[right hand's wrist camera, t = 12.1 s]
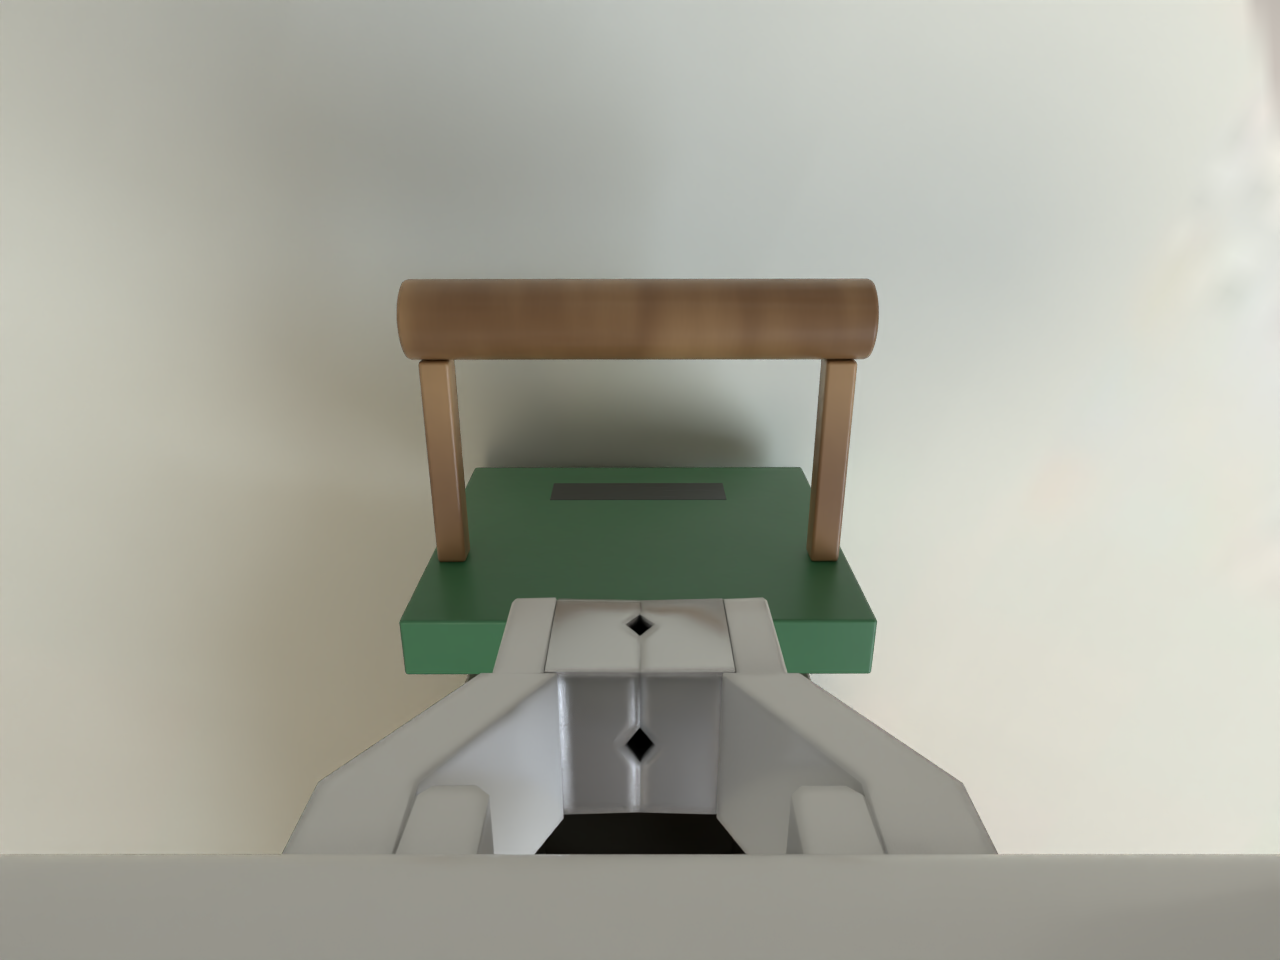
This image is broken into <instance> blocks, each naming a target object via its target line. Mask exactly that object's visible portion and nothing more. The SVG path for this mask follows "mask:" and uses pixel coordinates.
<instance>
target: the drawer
mask: <svg viewBox="0 0 1280 960" xmlns="http://www.w3.org/2000/svg"><path fill="white" fill-rule="evenodd" d="M878 320H879V305H878V296H877V291H876V288H875V285H874V283H873V282H872V281H871V280H869V279H408V280H405V281H403V283H402V284H401V286H400V289H399V294H398V299H397V327H398V334H399V339H400V343H401V346H402V349H403V352H404V354H405V355H406V357H407V358H409V359H412V360H421V361H420V362H419V375H420V385H421V395H422V405H423V415H424V425H425V435H426V445H427V454H428V464H429V474H430V484H431V494H432V504H433V514H434V524H435V534H436V544H437V547H436V549H435V551H434V553H433V555H432V557H431V559H430V561H429V563H428V565H427V567H426V569H425V571H424V573H423V575H422V577H421V579H420V581H419V583H418V585H417V587H416V589H415V591H414V593H413V595H412V597H411V599H410V601H409V603H408V605H407V607H406V609H405V611H404V613H403V615H402V617H401V620H400V622H399V624H400V632H401V640H402V648H403V656H404V664H405V672H406V674H468V676H467V679H466V683H467V682H468V681H470V680H471V679H473V678H474V677H476V676H477V675H479V674H480V673H493V669H494V666H495V662H496V659H497V655H498V651H499V648H500V644H501V641H502V637H503V633H504V630H505V626H506V623H507V619H508V616H509V612H510V608H511V605H512V602H513V601H514V600H515V599H517V598H556V599H557V600H558V599H559V598H566V599H619V600H678V599H719V598H722V599H735V598H758V597H763V598H764V599H766V600H767V602H768V606H769V609H770V613H771V616H772V620H773V624H774V627H775V631H776V634H777V638H778V641H779V645H780V648H781V652H782V655H783V659H784V662H785V666H786V669H787V673H800V674H802V675H803V676H804V677H806V678H807V679H809V680H810V681H811V679H810V676H809V673H870V672H871V667H872V659H873V651H874V642H875V634H876V625H877V620H876V618H875V616H874V614H873V612H872V610H871V608H870V606H869V604H868V602H867V600H866V598H865V596H864V594H863V592H862V590H861V588H860V586H859V584H858V582H857V580H856V578H855V576H854V574H853V572H852V570H851V568H850V566H849V564H848V562H847V560H846V558H845V556H844V554H843V552H842V550H841V548H840V536H841V526H842V516H843V505H844V495H845V485H846V474H847V464H848V454H849V443H850V433H851V423H852V412H853V402H854V392H855V381H856V371H857V363H856V361H855V360H854V359H865V358H867V357H869V356H870V354H871V353H872V350H873V348H874V345H875V341H876V337H877V331H878ZM565 359H822V360H821V372H820V384H819V397H818V409H817V422H816V434H815V446H814V459H813V471H812V484H811V487H810V485H809V483H808V481H807V479H806V477H805V475H804V473H803V471H802V469H801V468H800V467H671V468H475V470H474V472H473V474H472V476H471V478H470V480H469V482H468V484H467V486H466V488H465V482H464V470H463V458H462V446H461V434H460V423H459V411H458V399H457V387H456V375H455V363H454V360H565ZM535 854H746V853H745V852H744V851H743V850H742V849H741V847H740V846H739V845H738V844H737V842H736V841H735V840H734V839H733V837H732V836H731V835H730V834H729V832H728V831H727V830H726V829H725V828H724V826H723V825H722V824H721V823H720V821H719V820H718V819H717V814H684V813H647V812H630V813H595V814H563V820H562V821H561V822H560V823H559V825H558V826H557V827H556V828H555V830H554V831H553V832H552V833H551V834H550V836H549V837H548V838H547V839H546V841H545V842H544V843H543V844H542V845H541V847H540V848H539V849H538V850H537V852H536V853H535Z"/></svg>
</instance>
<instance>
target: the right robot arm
mask: <svg viewBox="0 0 1280 960" xmlns="http://www.w3.org/2000/svg"><path fill="white" fill-rule="evenodd" d="M630 812H647V813H684V814H717V819H718V820H719V821H720V823H721V824H722V825H723V826H724V828H725V829H726V830H727V831H728V832H729V834H730V835H731V836H732V837H733V839H734V840H735V841H736V842H737V844H738V845H739V846H740V847H741V849H742V850H743V851H744V852H745V853H746V854H535V853H536V852H537V850H538V849H539V848H540V847H541V845H542V844H543V843H544V842H545V841H546V839H547V838H548V837H549V836H550V834H551V833H552V832H553V831H554V830H555V828H556V827H557V826H558V825H559V823H560V822H561V821H562V820H563V814H595V813H630ZM0 960H1280V854H998V853H997V851H996V849H995V847H994V845H993V843H992V841H991V839H990V837H989V835H988V833H987V831H986V829H985V827H984V825H983V823H982V821H981V819H980V817H979V815H978V813H977V811H976V809H975V807H974V805H973V803H972V801H971V799H970V797H969V795H968V793H967V791H966V789H965V787H964V785H963V783H962V782H960V781H959V780H957V779H956V778H954V777H953V776H951V775H950V774H948V773H947V772H945V771H944V770H942V769H941V768H939V767H938V766H936V765H935V764H933V763H932V762H930V761H929V760H928V759H926V758H925V757H923V756H922V755H920V754H919V753H917V752H916V751H914V750H913V749H911V748H910V747H908V746H907V745H905V744H904V743H902V742H901V741H899V740H898V739H896V738H895V737H893V736H892V735H890V734H889V733H888V732H886V731H885V730H883V729H882V728H880V727H879V726H877V725H876V724H874V723H873V722H871V721H870V720H868V719H867V718H865V717H864V716H862V715H861V714H859V713H858V712H856V711H855V710H853V709H852V708H850V707H849V706H847V705H846V704H845V703H843V702H842V701H840V700H839V699H837V698H836V697H834V696H833V695H831V694H830V693H828V692H827V691H825V690H824V689H822V688H821V687H819V686H818V685H816V684H815V683H813V682H812V681H810V680H809V679H807V678H806V677H804V676H803V675H802V674H800V673H787V669H786V666H785V662H784V659H783V655H782V652H781V648H780V645H779V641H778V638H777V634H776V631H775V627H774V624H773V620H772V616H771V613H770V609H769V606H768V602H767V600H766V599H764V598H763V597H758V598H735V599H722V598H719V599H678V600H619V599H566V598H559V599H558V600H557V599H556V598H517V599H515V600H514V601H513V602H512V605H511V608H510V612H509V616H508V619H507V623H506V626H505V630H504V633H503V637H502V641H501V644H500V648H499V651H498V655H497V659H496V662H495V666H494V669H493V673H480V674H479V675H477V676H476V677H474V678H473V679H471V680H470V681H468V682H467V683H465V684H464V685H462V686H461V687H459V688H458V689H456V690H455V691H453V692H452V693H450V694H449V695H447V696H446V697H444V698H443V699H441V700H440V701H438V702H437V703H435V704H434V705H432V706H431V707H429V708H428V709H426V710H425V711H423V712H422V713H420V714H419V715H417V716H416V717H414V718H413V719H411V720H410V721H409V722H407V723H406V724H404V725H403V726H401V727H400V728H398V729H397V730H395V731H394V732H392V733H391V734H389V735H388V736H386V737H385V738H383V739H382V740H380V741H379V742H377V743H376V744H374V745H373V746H371V747H370V748H368V749H367V750H365V751H364V752H362V753H361V754H359V755H358V756H356V757H355V758H353V759H352V760H350V761H349V762H347V763H346V764H344V765H343V766H341V767H340V768H338V769H337V770H336V771H334V772H333V773H331V774H330V775H328V776H327V777H325V778H324V779H322V780H321V781H319V782H318V784H317V786H316V788H315V790H314V791H313V793H312V795H311V797H310V799H309V801H308V803H307V805H306V807H305V809H304V811H303V813H302V815H301V817H300V819H299V821H298V823H297V825H296V827H295V829H294V831H293V833H292V835H291V837H290V839H289V841H288V843H287V845H286V847H285V849H284V851H283V853H282V854H0Z"/></svg>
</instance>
